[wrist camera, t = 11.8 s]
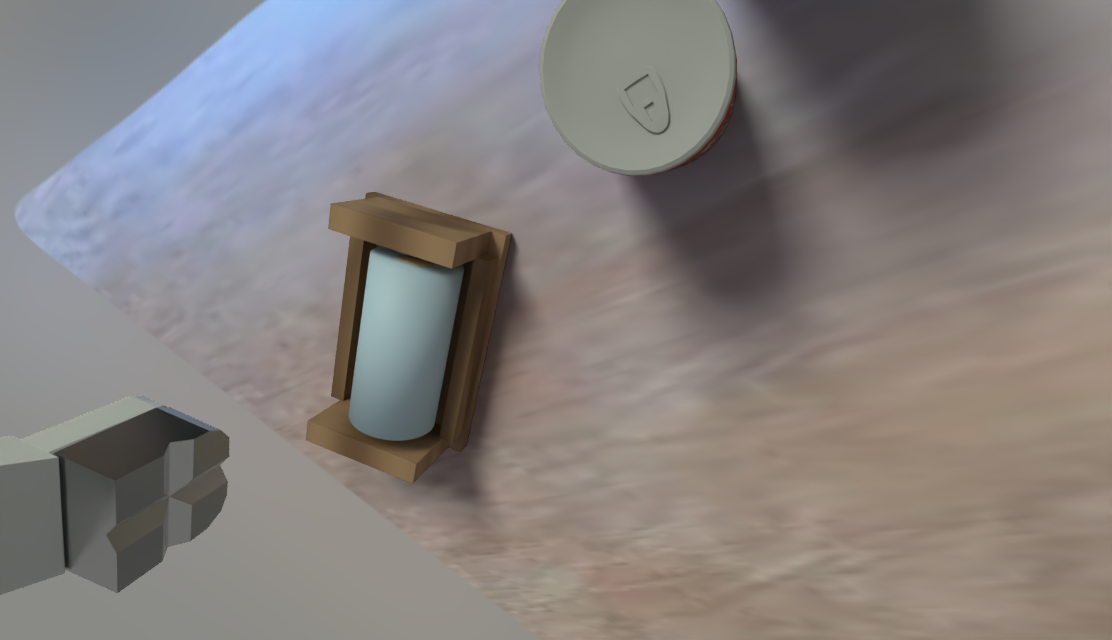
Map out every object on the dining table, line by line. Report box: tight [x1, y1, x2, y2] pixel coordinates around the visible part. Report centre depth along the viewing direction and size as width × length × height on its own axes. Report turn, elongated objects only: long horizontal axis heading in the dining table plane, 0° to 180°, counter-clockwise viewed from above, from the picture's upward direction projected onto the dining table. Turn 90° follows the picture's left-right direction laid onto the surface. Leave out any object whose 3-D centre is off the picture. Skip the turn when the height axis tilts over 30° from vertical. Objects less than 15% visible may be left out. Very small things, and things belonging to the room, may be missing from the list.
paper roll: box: [348, 246, 464, 441], centre depth 38 cm, size 6×11×6 cm, turn 166°
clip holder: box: [306, 192, 512, 484], centre depth 38 cm, size 10×16×6 cm, turn 166°
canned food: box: [539, 0, 737, 176], centre depth 28 cm, size 8×8×11 cm
